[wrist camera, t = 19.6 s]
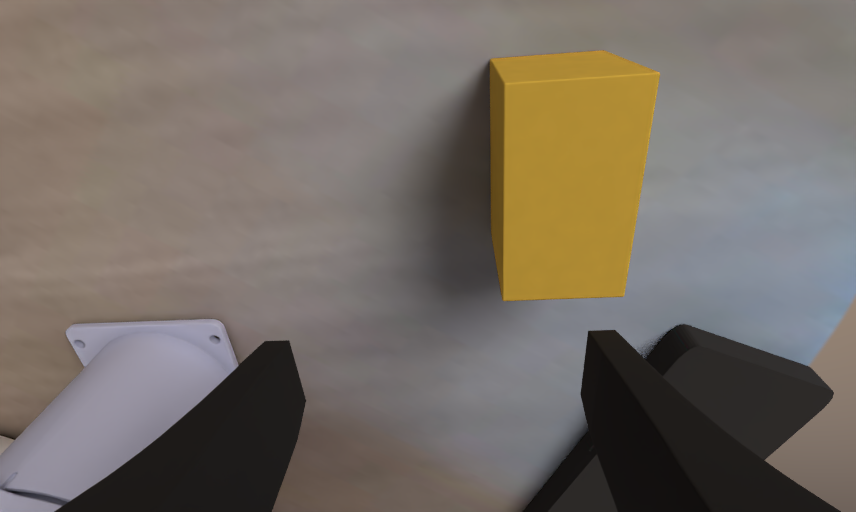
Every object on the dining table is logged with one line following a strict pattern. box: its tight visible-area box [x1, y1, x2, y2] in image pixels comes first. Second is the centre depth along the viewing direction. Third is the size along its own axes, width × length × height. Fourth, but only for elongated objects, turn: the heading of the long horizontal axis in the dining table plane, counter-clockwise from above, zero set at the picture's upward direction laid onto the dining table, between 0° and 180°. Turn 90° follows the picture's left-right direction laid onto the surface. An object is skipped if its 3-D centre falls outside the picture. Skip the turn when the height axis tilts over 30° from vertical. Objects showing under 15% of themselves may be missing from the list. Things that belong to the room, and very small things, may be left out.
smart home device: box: [524, 324, 834, 512], centre depth 26 cm, size 8×2×20 cm
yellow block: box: [490, 50, 660, 301], centre depth 16 cm, size 7×4×5 cm, turn 4°
